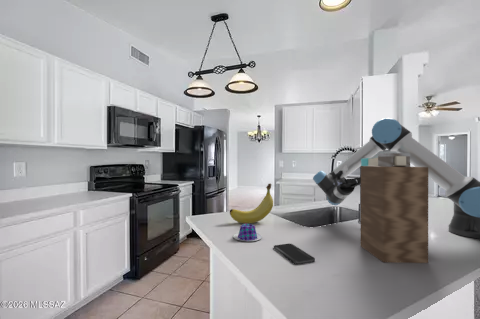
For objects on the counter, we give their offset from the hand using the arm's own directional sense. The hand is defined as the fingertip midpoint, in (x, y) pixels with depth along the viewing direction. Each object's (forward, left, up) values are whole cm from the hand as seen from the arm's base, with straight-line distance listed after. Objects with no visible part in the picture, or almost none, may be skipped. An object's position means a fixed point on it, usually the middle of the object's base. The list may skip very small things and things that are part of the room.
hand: (362, 168), depth 98 cm
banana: (+46, -21, -29) cm, 58 cm away
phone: (+33, +19, -29) cm, 48 cm away
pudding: (+48, +2, -29) cm, 57 cm away
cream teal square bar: (-1, +12, +1) cm, 12 cm away
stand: (-1, +18, -29) cm, 34 cm away
